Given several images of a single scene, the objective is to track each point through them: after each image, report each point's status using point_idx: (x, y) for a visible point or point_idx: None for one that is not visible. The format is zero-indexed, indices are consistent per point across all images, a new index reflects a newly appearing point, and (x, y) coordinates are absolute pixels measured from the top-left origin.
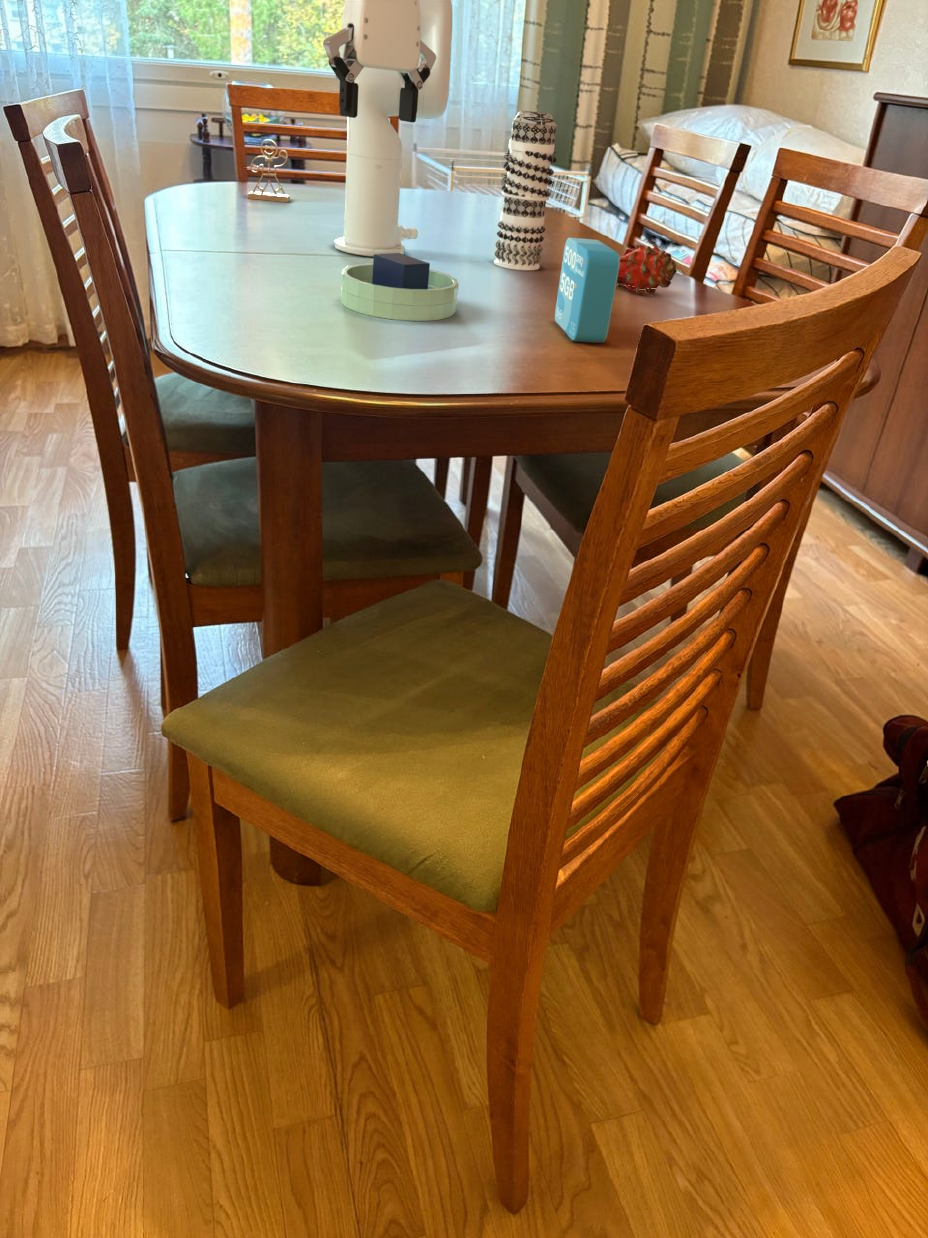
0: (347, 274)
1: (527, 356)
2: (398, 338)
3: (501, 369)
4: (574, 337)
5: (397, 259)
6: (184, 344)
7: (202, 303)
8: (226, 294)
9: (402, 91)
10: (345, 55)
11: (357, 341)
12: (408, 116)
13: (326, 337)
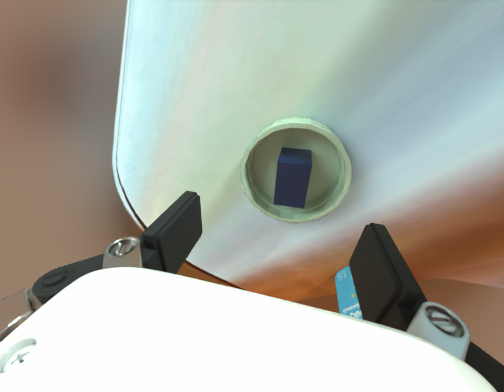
0: (247, 155)
1: (283, 268)
2: (238, 217)
3: (252, 270)
4: (336, 275)
5: (283, 187)
6: (120, 172)
7: (148, 89)
8: (176, 64)
9: (385, 289)
10: (96, 288)
11: (211, 210)
12: (353, 262)
13: None
